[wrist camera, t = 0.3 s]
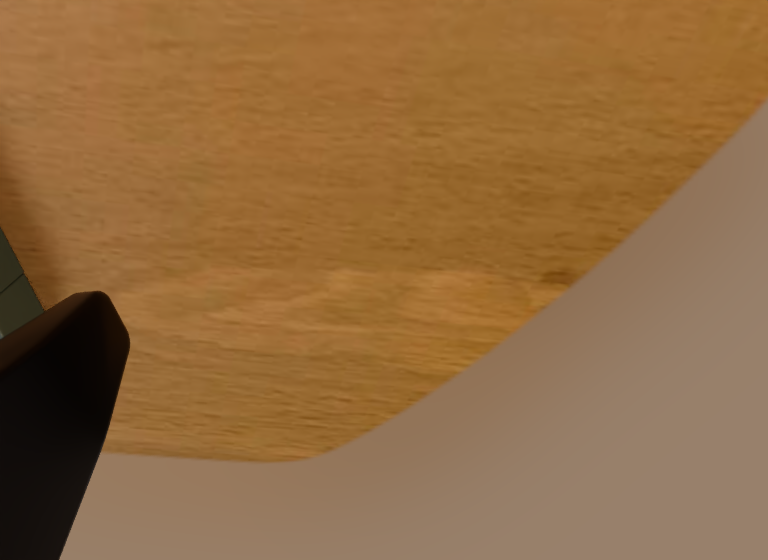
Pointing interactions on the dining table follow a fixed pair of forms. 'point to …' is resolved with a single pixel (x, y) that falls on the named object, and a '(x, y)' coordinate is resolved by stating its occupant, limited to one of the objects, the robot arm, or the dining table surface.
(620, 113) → the dining table surface
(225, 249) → the dining table surface
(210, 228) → the dining table surface
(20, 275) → the board
